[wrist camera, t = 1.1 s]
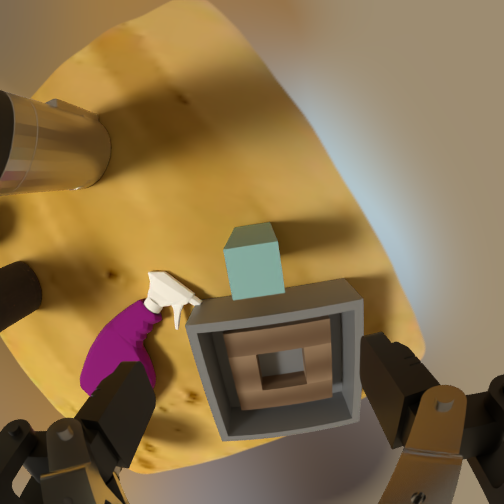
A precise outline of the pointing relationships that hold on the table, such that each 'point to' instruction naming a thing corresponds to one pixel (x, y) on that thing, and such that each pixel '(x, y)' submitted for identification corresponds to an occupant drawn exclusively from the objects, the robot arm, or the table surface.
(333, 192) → the table surface
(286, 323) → the plate
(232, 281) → the peg
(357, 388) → the crate
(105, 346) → the spray bottle
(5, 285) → the container
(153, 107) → the table surface
